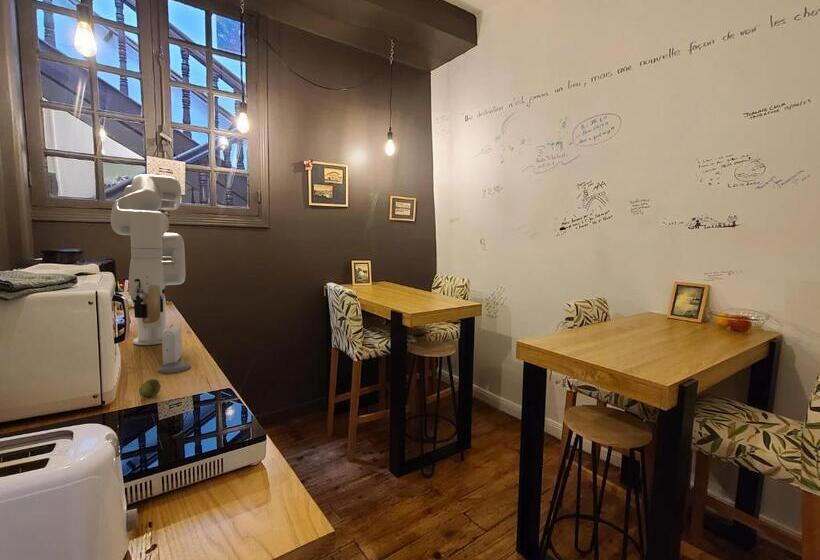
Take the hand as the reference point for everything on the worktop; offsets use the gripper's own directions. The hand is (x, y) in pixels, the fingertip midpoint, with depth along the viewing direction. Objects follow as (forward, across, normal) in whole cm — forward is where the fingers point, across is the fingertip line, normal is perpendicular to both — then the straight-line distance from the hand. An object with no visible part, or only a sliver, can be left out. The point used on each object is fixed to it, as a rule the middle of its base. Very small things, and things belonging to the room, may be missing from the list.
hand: (149, 314), depth 117 cm
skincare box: (+4, 0, 0) cm, 4 cm away
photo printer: (+20, -17, -3) cm, 26 cm away
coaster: (+20, -9, +2) cm, 22 cm away
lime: (+20, +13, +7) cm, 25 cm away
